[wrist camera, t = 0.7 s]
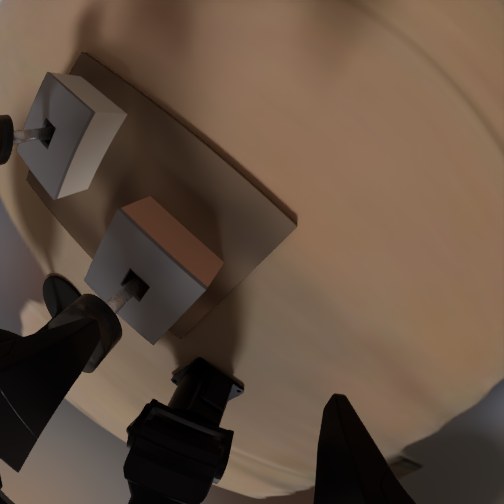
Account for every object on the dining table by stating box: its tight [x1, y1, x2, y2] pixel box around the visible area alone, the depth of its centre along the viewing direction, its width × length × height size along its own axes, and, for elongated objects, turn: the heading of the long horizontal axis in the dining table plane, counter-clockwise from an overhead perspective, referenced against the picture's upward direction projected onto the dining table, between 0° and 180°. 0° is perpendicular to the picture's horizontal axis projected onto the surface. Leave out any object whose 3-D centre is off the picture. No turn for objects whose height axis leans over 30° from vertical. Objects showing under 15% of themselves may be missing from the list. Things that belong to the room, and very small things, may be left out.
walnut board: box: [27, 52, 297, 339], centre depth 21 cm, size 16×26×1 cm, turn 49°
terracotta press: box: [84, 196, 224, 345], centre depth 20 cm, size 8×8×4 cm
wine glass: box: [0, 276, 81, 344], centre depth 20 cm, size 10×10×20 cm
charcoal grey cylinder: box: [48, 277, 143, 373], centre depth 15 cm, size 4×4×8 cm
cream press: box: [17, 72, 128, 200], centre depth 17 cm, size 8×8×4 cm
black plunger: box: [0, 115, 53, 165], centre depth 12 cm, size 4×4×8 cm
